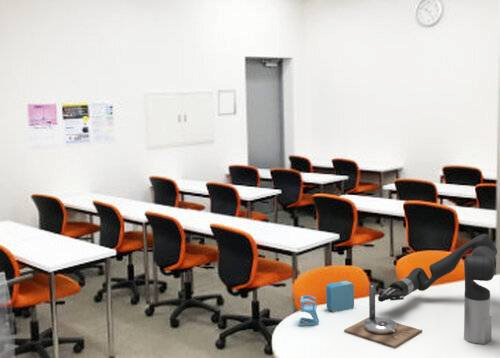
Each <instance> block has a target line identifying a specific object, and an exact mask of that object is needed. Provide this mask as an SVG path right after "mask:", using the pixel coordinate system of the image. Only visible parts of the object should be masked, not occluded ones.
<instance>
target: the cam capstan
mask: <svg viewBox="0 0 500 358" xmlns="http://www.w3.org/2000/svg"><path fill="white" fill-rule="evenodd" d="M368 293H369V294H368V301H369V302H368V303H369V308H368V309H369V315H368V317H369V319H368V320H366V321H365V322H364V327H365V329H366V330H367V331H369V332H371V333H375V334H390V333H393V332H395V331H396V330H397V323H398V322H396V321H395V320H394V319H391V318H387V317H378V318H375V317H376V286H375V285H374V284H370V285H368Z"/></svg>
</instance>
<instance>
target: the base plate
mask: <svg viewBox="0 0 500 358" xmlns="http://www.w3.org/2000/svg"><path fill="white" fill-rule="evenodd" d="M375 318H379V317H377V316H375ZM368 319H369V316H368V317H367V318H365V319H362V320H361V321H359V322H357V323H355V324H353V325H351V326H348V327H346V328H345V329H343V333H345V334H349V335H351V336H354V337H358V338H361V339H364V340H368V341H371V342H373V343H377V344H380V345H383V346H385V347H389V348H392V349H397V348H399V347H401V346H402V345H403V344H405V343H407V342H409V341H410V340H412V339H414V338H416V337H417V336H418V335H420V334H422V333H423V330H422V329H419V328H416V327H413V326H409V325H405V324H403V323H399V322H396V323H397V330H396V331H395V332H393V333H390V334H375V333H371V332H369V331H367V330H366V329H365V327H364V322H365V321H366V320H368Z"/></svg>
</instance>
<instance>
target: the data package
mask: <svg viewBox="0 0 500 358" xmlns="http://www.w3.org/2000/svg"><path fill="white" fill-rule="evenodd" d="M325 289H326V290H325V291H326V293H325V294H326V299H325V300H326V308H327V310H329V311H331V312H333V313H337V312H342V311H346V310H353V308H354V307H355V285H354V284H353V283H352V282H350V281H348V280H343V281H338V282H332V283H328V284H327V285H326V287H325ZM336 311H337V312H336Z"/></svg>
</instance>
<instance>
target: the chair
mask: <svg viewBox="0 0 500 358" xmlns="http://www.w3.org/2000/svg"><path fill="white" fill-rule="evenodd" d="M311 299H312V300H311ZM316 301H317V297H314V296H313V295H308V294H307V295H301V296H300V305H301V307H300V311H299V312H300V313H302V312H303V313H308V314H309V315H310V316H311V317H312V318H307V317H300V318H299V322H298V326H299V327H305V326H307V327H308V326H318V325H319V323H320V320H319V316H318V313H317V307H318V305H317V304H316ZM306 303H310V304H306ZM302 321H306V322H305V323H302Z"/></svg>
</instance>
